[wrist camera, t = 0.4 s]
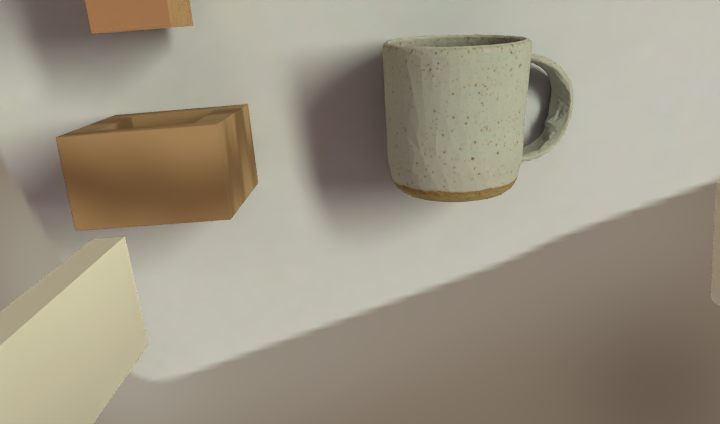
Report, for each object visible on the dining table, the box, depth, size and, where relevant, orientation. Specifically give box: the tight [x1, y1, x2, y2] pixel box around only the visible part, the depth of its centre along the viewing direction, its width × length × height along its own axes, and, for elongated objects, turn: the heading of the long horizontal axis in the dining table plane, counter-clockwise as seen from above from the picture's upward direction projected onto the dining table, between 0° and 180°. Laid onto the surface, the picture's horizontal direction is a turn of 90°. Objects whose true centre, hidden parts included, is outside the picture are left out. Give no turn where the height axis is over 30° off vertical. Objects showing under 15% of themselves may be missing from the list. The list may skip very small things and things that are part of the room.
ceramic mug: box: [383, 35, 573, 202], centre depth 36 cm, size 11×8×8 cm
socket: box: [56, 104, 258, 231], centre depth 37 cm, size 5×8×8 cm, turn 95°
